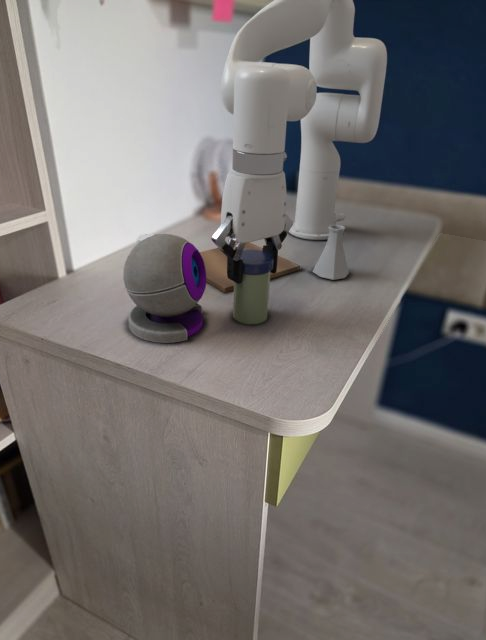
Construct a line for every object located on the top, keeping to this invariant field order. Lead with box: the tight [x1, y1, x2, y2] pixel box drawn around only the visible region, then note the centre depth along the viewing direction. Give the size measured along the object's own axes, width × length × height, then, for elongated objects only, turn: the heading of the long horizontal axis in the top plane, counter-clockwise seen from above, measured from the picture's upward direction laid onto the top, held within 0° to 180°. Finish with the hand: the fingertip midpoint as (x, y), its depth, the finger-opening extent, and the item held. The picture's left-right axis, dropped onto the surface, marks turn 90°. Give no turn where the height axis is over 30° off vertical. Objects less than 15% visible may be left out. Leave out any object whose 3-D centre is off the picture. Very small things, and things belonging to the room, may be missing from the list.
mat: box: [199, 242, 301, 293], centre depth 105 cm, size 20×18×1 cm
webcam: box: [122, 233, 207, 344], centre depth 79 cm, size 13×13×15 cm
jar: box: [232, 271, 271, 325], centre depth 84 cm, size 6×6×10 cm
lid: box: [240, 250, 274, 275], centre depth 81 cm, size 7×7×2 cm
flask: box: [312, 223, 350, 281], centre depth 101 cm, size 7×7×10 cm
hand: (252, 274), depth 82 cm, fingers closed on lid, 6 cm apart
